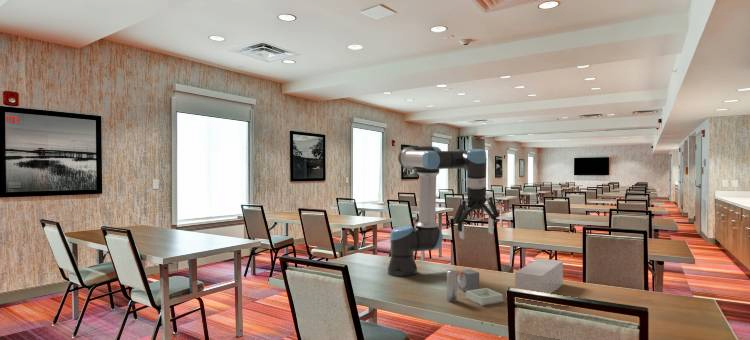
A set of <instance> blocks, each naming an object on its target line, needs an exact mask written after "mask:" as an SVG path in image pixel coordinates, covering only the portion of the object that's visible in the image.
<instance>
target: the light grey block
mask: <svg viewBox="0 0 750 340" xmlns="http://www.w3.org/2000/svg"><path fill="white" fill-rule="evenodd" d="M563 263H564V262H563V260H555V259H547V258H539V257H538V258H536V259H535V260H533V261H532V262H530V263H529V264H526V265H525V266H523V267H522V268H520V269H518V270H517V271H515V272H514V275H515V278H514V279H515V280H514V281H515V282H514V283H515V288H519V289H525V290H531V291H537V292H546V293H552V292H554V291H555V290H556V291H557V290H558V289H559V288H561V286H563V284H564V279H563V278H564V272H563V271H564V269H563V268H564V265H563ZM556 291H555V292H556ZM555 292H554V293H555ZM552 294H553V293H552Z"/></svg>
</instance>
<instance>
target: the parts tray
mask: <svg viewBox="0 0 750 340" xmlns="http://www.w3.org/2000/svg"><path fill="white" fill-rule="evenodd" d="M465 299H466V300H468V301H470V302H473V303H475V304H477V305H478V306H480V307H481V306H488V305H494V304H500V302H501V303H504V294H502V293H500V292H497V291H495V290H493V289H490V288H488V287H484V288H480V289H477V290H470V291H466V292H465Z"/></svg>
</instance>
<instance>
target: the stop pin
mask: <svg viewBox="0 0 750 340" xmlns="http://www.w3.org/2000/svg"><path fill="white" fill-rule="evenodd" d="M457 277H458V273H457V271H456V270H455V269H448V270H446V302H449V303H456V302H458V281H457Z"/></svg>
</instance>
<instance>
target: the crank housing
mask: <svg viewBox="0 0 750 340" xmlns="http://www.w3.org/2000/svg"><path fill="white" fill-rule="evenodd" d="M455 271H457V285H458V289H459V290H461V291H463V292H465V293H466V291H470V290H477V289H481V288H480V272H479V271H476V270H474V269H470V268H469V269H461V270H460V269H456V270H455Z"/></svg>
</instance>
